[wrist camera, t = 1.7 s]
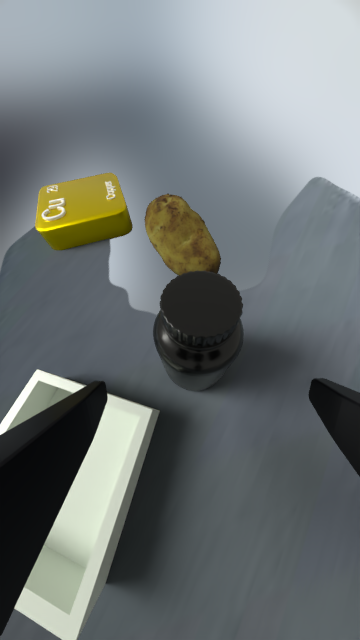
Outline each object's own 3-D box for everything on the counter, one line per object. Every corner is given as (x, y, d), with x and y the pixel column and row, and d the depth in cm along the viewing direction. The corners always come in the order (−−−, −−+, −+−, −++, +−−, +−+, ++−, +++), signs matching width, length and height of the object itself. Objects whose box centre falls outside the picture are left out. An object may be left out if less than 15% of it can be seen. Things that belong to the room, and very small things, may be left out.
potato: (169, 299, 25) (161, 253, 18) (146, 242, 31) (134, 191, 24) (223, 282, 26) (236, 232, 19) (191, 230, 32) (192, 178, 25)
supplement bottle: (227, 391, 19) (276, 361, 8) (163, 391, 19) (131, 361, 9) (221, 332, 22) (250, 256, 11) (166, 333, 22) (146, 259, 12)
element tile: (135, 234, 33) (127, 207, 29) (52, 254, 31) (30, 229, 27) (121, 193, 40) (113, 167, 35) (53, 209, 38) (36, 183, 34)
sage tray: (105, 584, 13) (73, 646, 9) (-18, 515, 15) (-81, 545, 12) (159, 410, 18) (152, 409, 15) (63, 377, 20) (37, 369, 17)
